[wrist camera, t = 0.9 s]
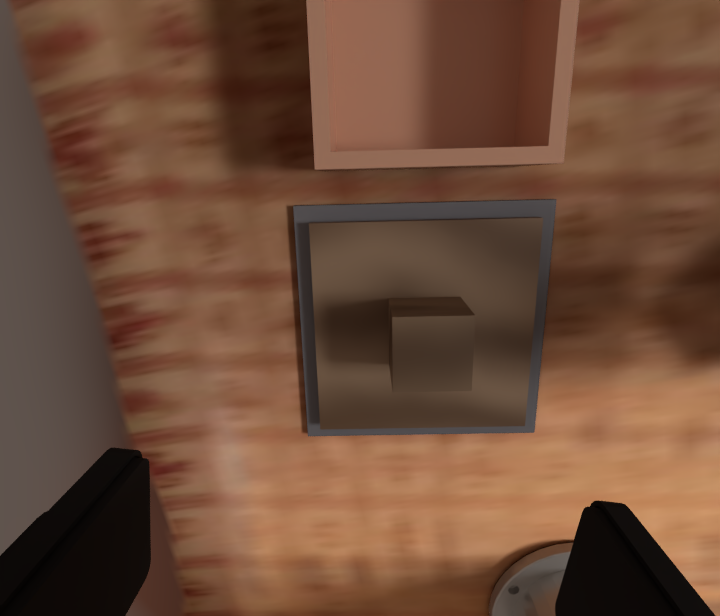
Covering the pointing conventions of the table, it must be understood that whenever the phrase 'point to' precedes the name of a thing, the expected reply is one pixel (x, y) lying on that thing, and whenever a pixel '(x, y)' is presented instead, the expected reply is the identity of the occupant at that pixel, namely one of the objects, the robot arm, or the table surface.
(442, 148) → the terracotta box
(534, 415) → the rubber mat
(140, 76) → the table surface
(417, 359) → the walnut lid
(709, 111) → the table surface
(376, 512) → the table surface
